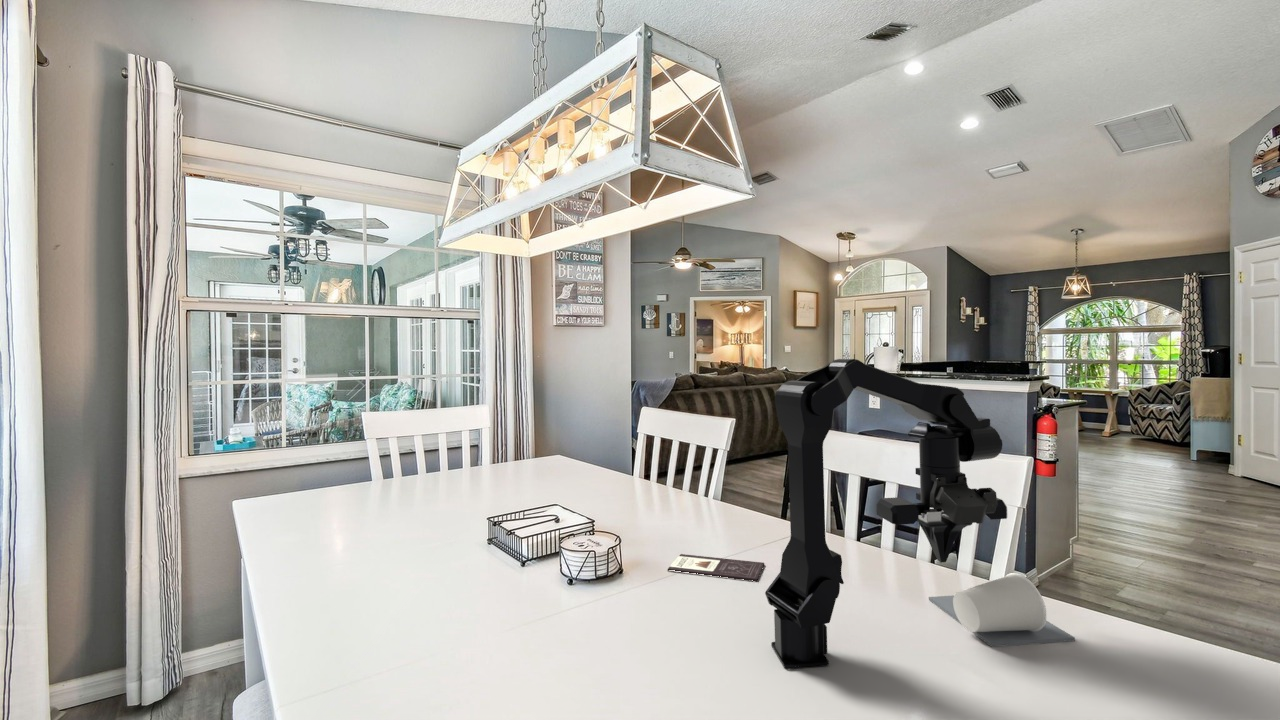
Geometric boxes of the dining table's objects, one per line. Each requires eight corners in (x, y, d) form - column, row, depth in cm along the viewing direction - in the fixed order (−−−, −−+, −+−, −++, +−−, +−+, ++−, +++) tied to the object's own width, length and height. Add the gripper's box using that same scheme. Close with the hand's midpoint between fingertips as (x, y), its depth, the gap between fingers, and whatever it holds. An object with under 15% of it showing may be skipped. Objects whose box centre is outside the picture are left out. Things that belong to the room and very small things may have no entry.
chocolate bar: (756, 579, 110) (667, 568, 117) (756, 584, 110) (667, 573, 117) (764, 562, 119) (680, 554, 125) (764, 567, 119) (680, 558, 125)
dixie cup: (955, 635, 90) (1012, 625, 92) (993, 647, 82) (1054, 636, 84) (941, 579, 92) (997, 570, 94) (977, 585, 84) (1037, 575, 86)
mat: (991, 646, 85) (991, 643, 85) (928, 599, 100) (928, 597, 100) (1074, 640, 85) (1074, 637, 85) (999, 595, 101) (999, 592, 101)
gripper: (910, 478, 83) (913, 585, 84) (1032, 472, 85) (1035, 577, 85) (873, 463, 94) (876, 558, 95) (982, 458, 96) (984, 551, 96)
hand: (941, 561), depth 92 cm, fingers closed
